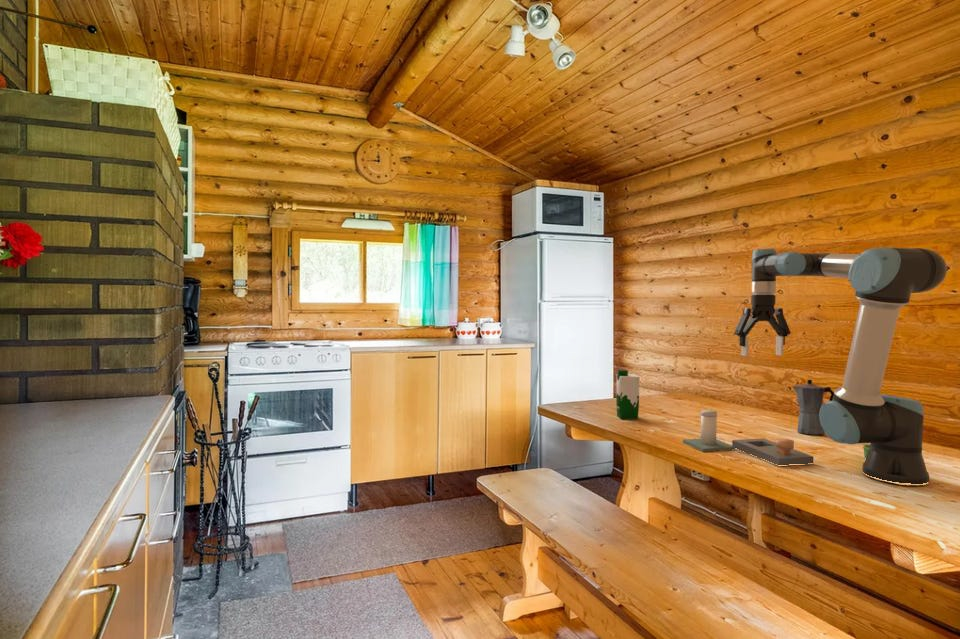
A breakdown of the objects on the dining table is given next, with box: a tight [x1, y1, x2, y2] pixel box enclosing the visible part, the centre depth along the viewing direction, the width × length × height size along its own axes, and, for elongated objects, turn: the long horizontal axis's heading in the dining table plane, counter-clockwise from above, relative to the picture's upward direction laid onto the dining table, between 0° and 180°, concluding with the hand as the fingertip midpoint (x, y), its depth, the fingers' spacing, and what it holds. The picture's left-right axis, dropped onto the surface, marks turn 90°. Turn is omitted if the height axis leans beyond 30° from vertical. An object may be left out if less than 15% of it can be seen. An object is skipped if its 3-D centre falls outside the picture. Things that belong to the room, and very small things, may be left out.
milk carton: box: [615, 369, 640, 420], centre depth 234 cm, size 9×9×20 cm
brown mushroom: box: [775, 437, 795, 455], centre depth 173 cm, size 5×5×6 cm
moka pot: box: [792, 379, 834, 436], centre depth 207 cm, size 10×15×20 cm, turn 33°
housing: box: [731, 437, 815, 465], centre depth 178 cm, size 22×12×2 cm, turn 11°
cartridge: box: [700, 409, 718, 445], centre depth 190 cm, size 5×5×11 cm
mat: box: [682, 438, 736, 453], centre depth 190 cm, size 12×12×1 cm
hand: (761, 355), depth 192 cm, fingers open, 13 cm apart
